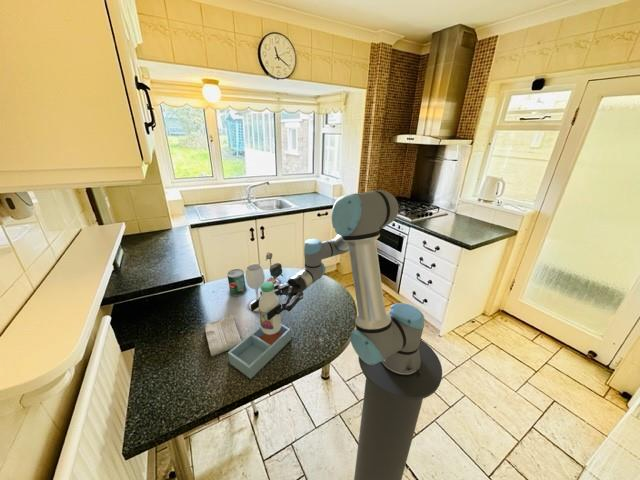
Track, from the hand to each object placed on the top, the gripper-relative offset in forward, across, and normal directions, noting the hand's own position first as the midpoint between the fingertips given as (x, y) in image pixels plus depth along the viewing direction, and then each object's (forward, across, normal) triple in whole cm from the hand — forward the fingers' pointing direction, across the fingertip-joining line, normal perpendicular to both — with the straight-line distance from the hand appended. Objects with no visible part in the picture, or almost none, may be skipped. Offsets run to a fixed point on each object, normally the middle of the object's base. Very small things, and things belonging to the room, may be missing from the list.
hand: (259, 312), depth 91 cm
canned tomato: (-19, -38, +18) cm, 46 cm away
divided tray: (+1, 0, +18) cm, 18 cm away
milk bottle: (-5, 0, +11) cm, 12 cm away
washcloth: (+5, -18, +18) cm, 26 cm away
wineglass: (-17, -21, +18) cm, 32 cm away
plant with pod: (-35, -28, +18) cm, 48 cm away
